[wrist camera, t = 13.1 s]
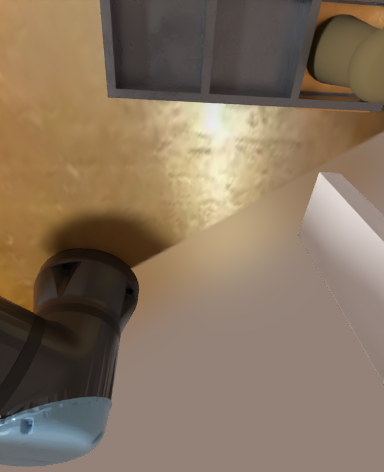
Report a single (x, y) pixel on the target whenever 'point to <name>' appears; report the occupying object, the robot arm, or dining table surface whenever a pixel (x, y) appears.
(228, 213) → the dining table surface
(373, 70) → the olive pawn-shaped piece
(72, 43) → the dining table surface
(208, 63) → the rack
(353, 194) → the robot arm
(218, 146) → the dining table surface
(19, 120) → the dining table surface
